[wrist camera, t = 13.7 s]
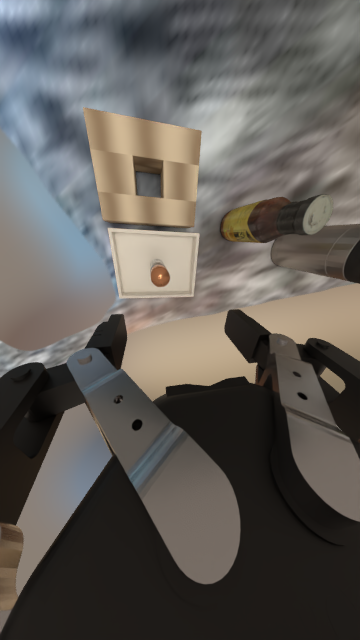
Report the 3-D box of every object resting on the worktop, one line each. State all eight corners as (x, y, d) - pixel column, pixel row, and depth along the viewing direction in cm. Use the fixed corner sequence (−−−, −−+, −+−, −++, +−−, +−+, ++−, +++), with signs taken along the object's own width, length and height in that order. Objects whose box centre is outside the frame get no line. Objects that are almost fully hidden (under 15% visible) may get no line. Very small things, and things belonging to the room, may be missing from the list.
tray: (194, 233, 33) (199, 233, 30) (190, 292, 40) (193, 296, 37) (111, 228, 30) (107, 227, 27) (121, 293, 37) (119, 298, 34)
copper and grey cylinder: (163, 258, 34) (170, 267, 24) (163, 272, 35) (169, 287, 25) (149, 258, 33) (150, 267, 23) (150, 272, 35) (151, 287, 25)
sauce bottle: (216, 239, 35) (280, 241, 18) (223, 206, 32) (308, 172, 15) (240, 243, 36) (320, 248, 19) (249, 212, 33) (353, 187, 16)
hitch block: (191, 151, 27) (201, 130, 22) (186, 228, 33) (193, 226, 27) (97, 135, 24) (82, 107, 19) (110, 223, 30) (103, 220, 24)
